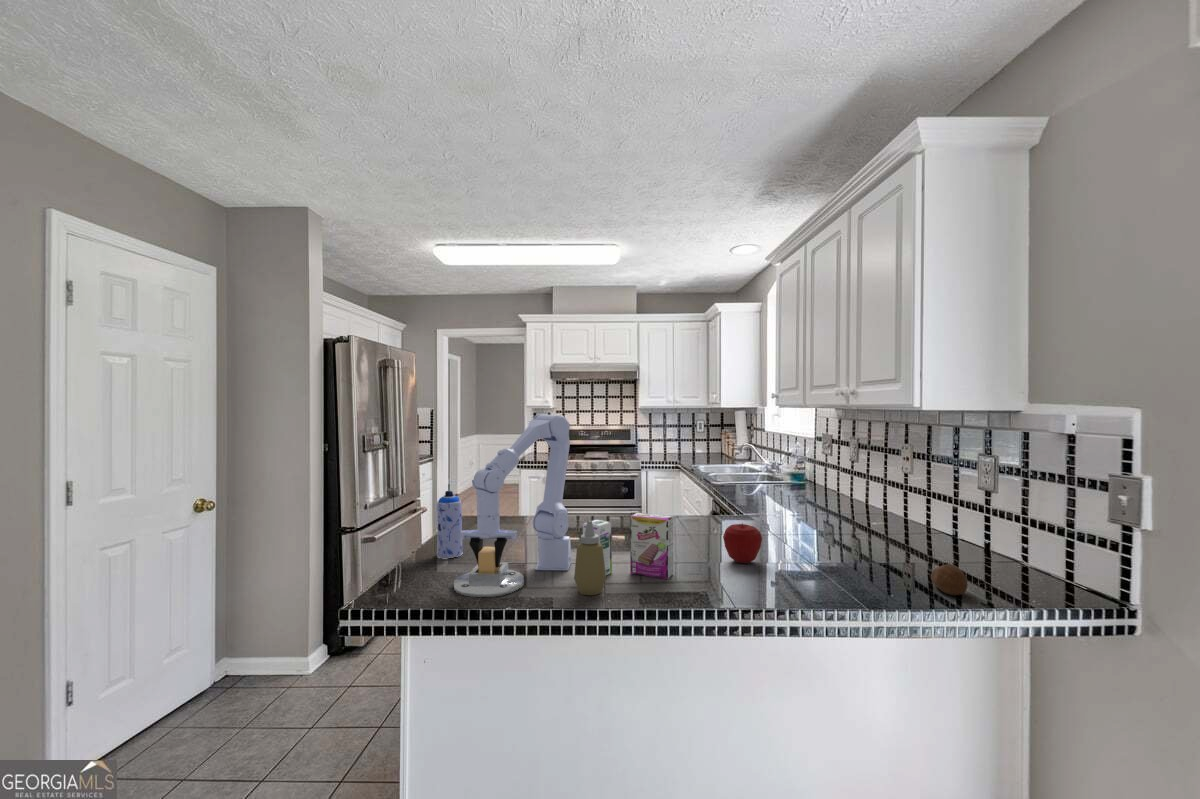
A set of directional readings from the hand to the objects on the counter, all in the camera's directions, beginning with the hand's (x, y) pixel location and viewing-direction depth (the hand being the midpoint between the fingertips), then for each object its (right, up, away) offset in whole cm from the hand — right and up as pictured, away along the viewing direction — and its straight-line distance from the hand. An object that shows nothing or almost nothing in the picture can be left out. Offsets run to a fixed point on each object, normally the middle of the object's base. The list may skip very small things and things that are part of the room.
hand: (489, 566), depth 151 cm
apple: (+71, -4, +18) cm, 74 cm away
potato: (+117, -5, -7) cm, 117 cm away
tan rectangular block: (0, -2, 0) cm, 2 cm away
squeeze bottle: (+27, -5, -6) cm, 28 cm away
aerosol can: (-17, -5, +27) cm, 33 cm away
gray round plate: (0, -5, 0) cm, 5 cm away
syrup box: (+29, -5, +8) cm, 30 cm away
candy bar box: (+44, -5, +8) cm, 44 cm away
